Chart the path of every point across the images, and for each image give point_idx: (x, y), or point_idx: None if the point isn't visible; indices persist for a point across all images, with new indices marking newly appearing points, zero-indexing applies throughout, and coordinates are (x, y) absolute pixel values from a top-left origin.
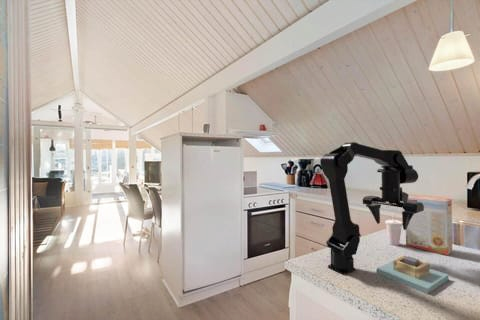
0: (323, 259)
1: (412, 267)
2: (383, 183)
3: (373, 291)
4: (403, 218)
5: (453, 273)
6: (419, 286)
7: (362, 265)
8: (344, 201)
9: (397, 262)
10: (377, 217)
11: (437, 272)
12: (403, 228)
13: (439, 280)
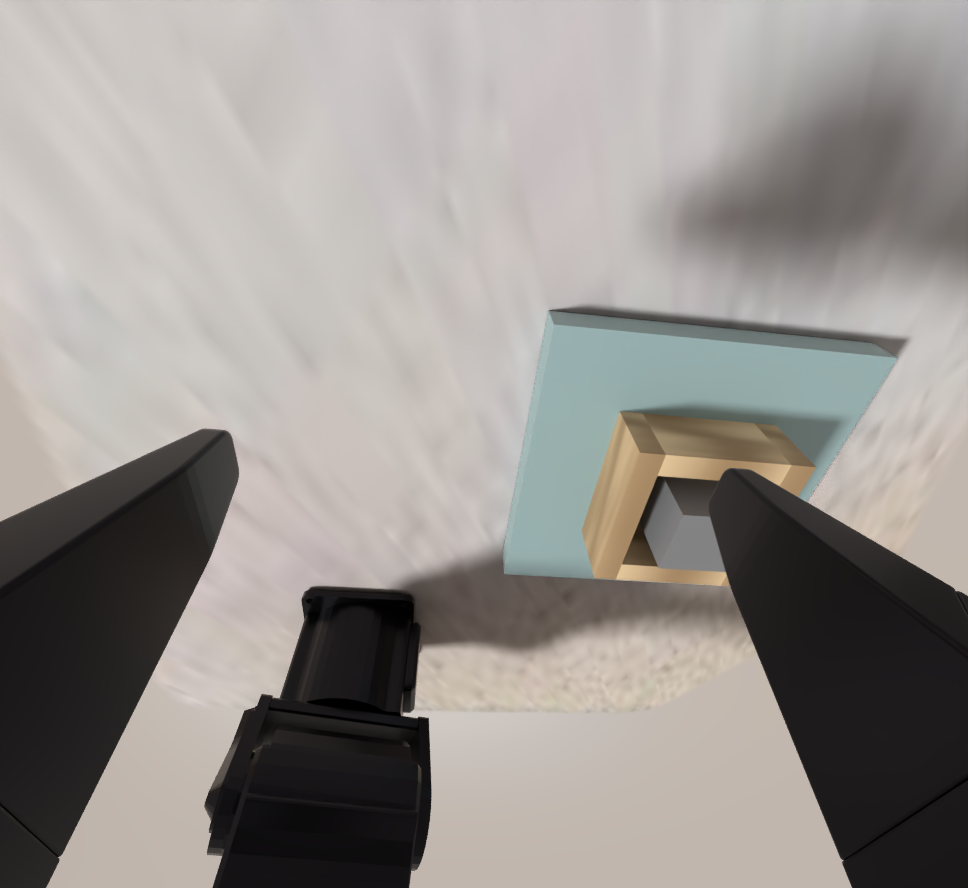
0: (223, 608)
1: (707, 582)
2: None
3: (557, 667)
4: (840, 803)
5: (948, 179)
6: None
7: (402, 531)
8: None
9: (619, 577)
10: (166, 594)
11: (829, 376)
12: (717, 535)
13: (819, 479)
